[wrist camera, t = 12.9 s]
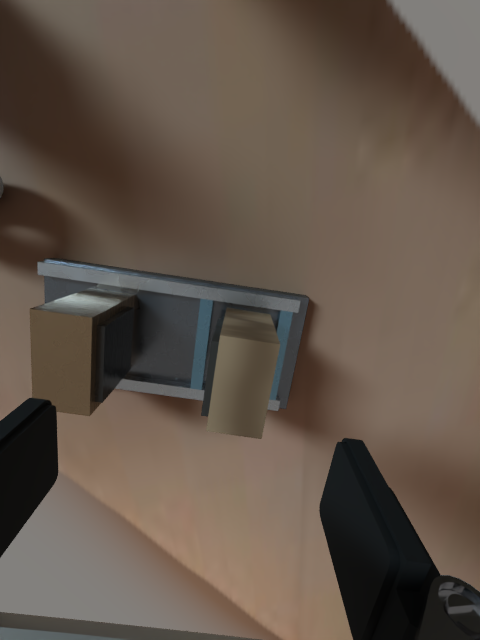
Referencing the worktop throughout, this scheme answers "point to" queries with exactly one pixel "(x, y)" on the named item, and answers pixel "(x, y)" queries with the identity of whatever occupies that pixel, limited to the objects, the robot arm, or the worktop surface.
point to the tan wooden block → (240, 373)
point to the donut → (1, 187)
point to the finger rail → (142, 333)
